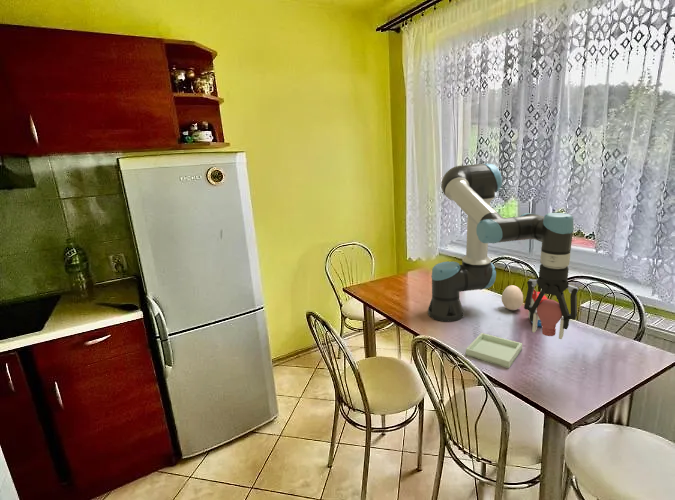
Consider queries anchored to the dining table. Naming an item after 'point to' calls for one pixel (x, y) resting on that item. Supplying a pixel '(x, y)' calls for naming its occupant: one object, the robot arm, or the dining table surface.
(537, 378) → the dining table surface
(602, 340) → the dining table surface
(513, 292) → the egg
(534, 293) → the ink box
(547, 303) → the light bulb
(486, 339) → the tray
